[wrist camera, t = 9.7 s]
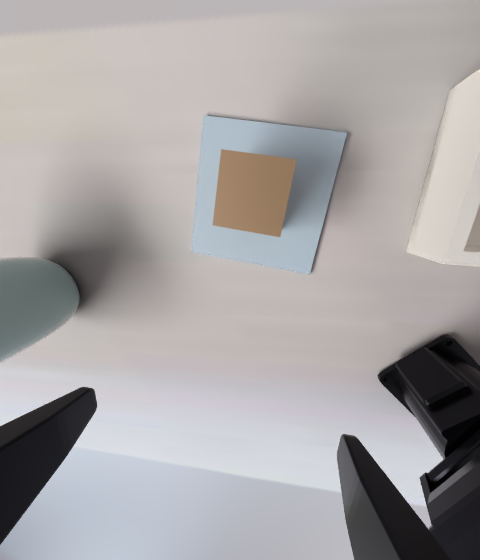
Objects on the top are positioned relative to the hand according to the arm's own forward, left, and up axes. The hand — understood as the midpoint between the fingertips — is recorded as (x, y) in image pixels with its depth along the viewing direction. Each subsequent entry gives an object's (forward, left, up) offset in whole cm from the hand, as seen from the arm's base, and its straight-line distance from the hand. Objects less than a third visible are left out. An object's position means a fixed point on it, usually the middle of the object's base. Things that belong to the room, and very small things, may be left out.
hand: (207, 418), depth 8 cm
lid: (+5, -6, -13) cm, 15 cm away
